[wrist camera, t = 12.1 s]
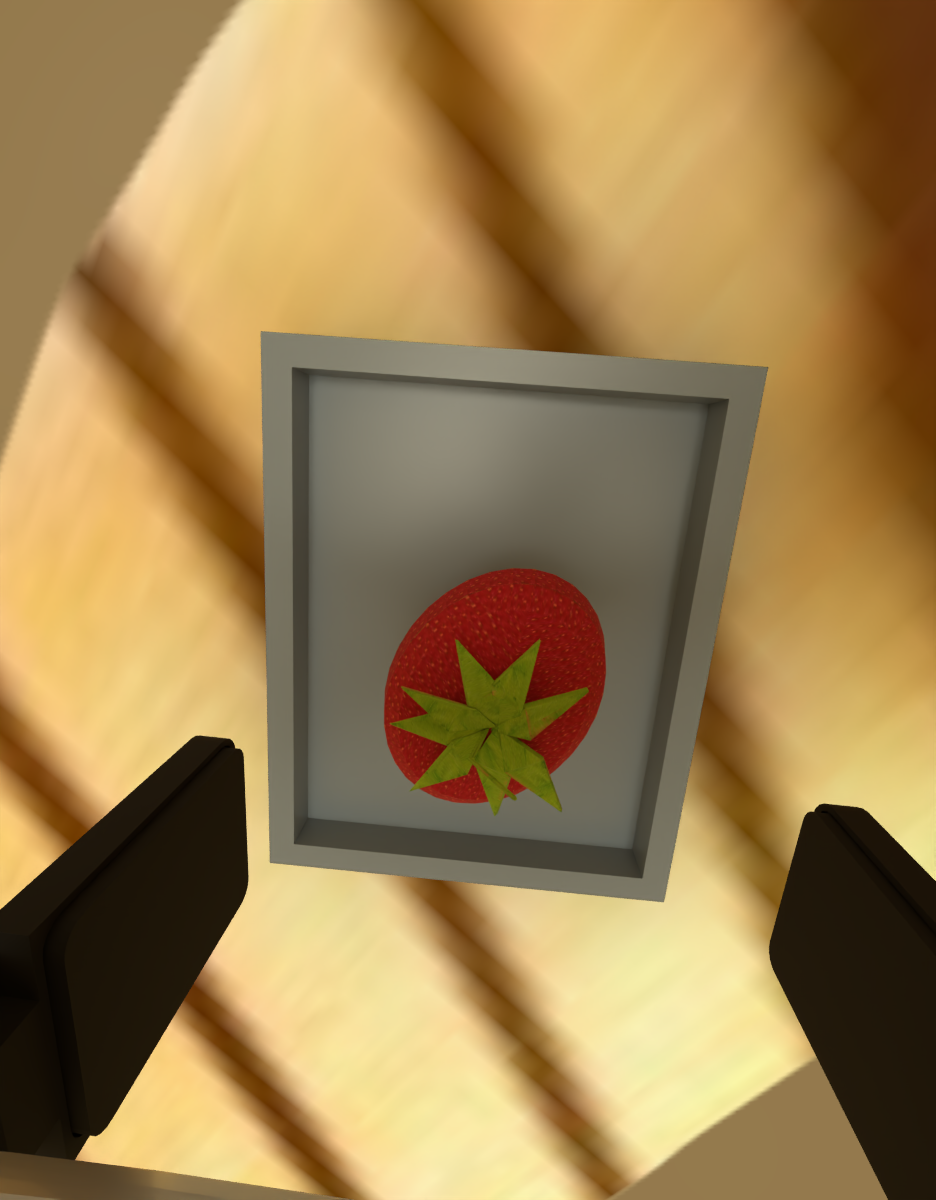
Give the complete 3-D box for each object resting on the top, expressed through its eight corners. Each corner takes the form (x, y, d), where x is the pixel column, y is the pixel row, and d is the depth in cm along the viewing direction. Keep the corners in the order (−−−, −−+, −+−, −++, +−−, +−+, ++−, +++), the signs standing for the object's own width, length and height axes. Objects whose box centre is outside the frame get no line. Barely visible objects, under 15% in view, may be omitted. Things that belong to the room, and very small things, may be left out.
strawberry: (614, 600, 21) (719, 719, 11) (494, 743, 23) (496, 954, 13) (489, 507, 20) (487, 546, 11) (375, 661, 22) (283, 817, 12)
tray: (734, 378, 20) (768, 367, 17) (647, 858, 25) (664, 902, 22) (289, 346, 20) (260, 331, 18) (291, 823, 25) (269, 862, 23)
